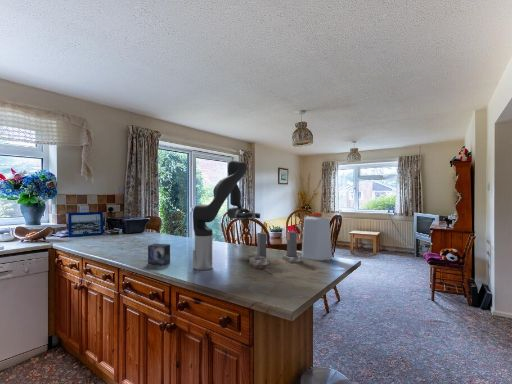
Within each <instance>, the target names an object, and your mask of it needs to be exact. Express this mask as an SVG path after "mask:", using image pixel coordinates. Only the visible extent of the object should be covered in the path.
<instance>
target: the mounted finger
mask: <svg viewBox="0 0 512 384" xmlns="http://www.w3.org/2000/svg"><path fill="white" fill-rule="evenodd" d="M297 233H298V232H296V231H293V230H292V231H287V232H286V239H285V240H286V255H287V256H288V257H297V255H298V254H297V252H298V251H297V250H298V249H297V247H298V244H297V243H298V241H297V238H298V235H297Z"/></svg>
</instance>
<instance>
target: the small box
mask: <svg viewBox="0 0 512 384" xmlns="http://www.w3.org/2000/svg"><path fill="white" fill-rule="evenodd" d="M168 263H169V264H170V263H171V244H169V243H152V244H149V245H147V265H156V266H166V265H169V264H168Z"/></svg>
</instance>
